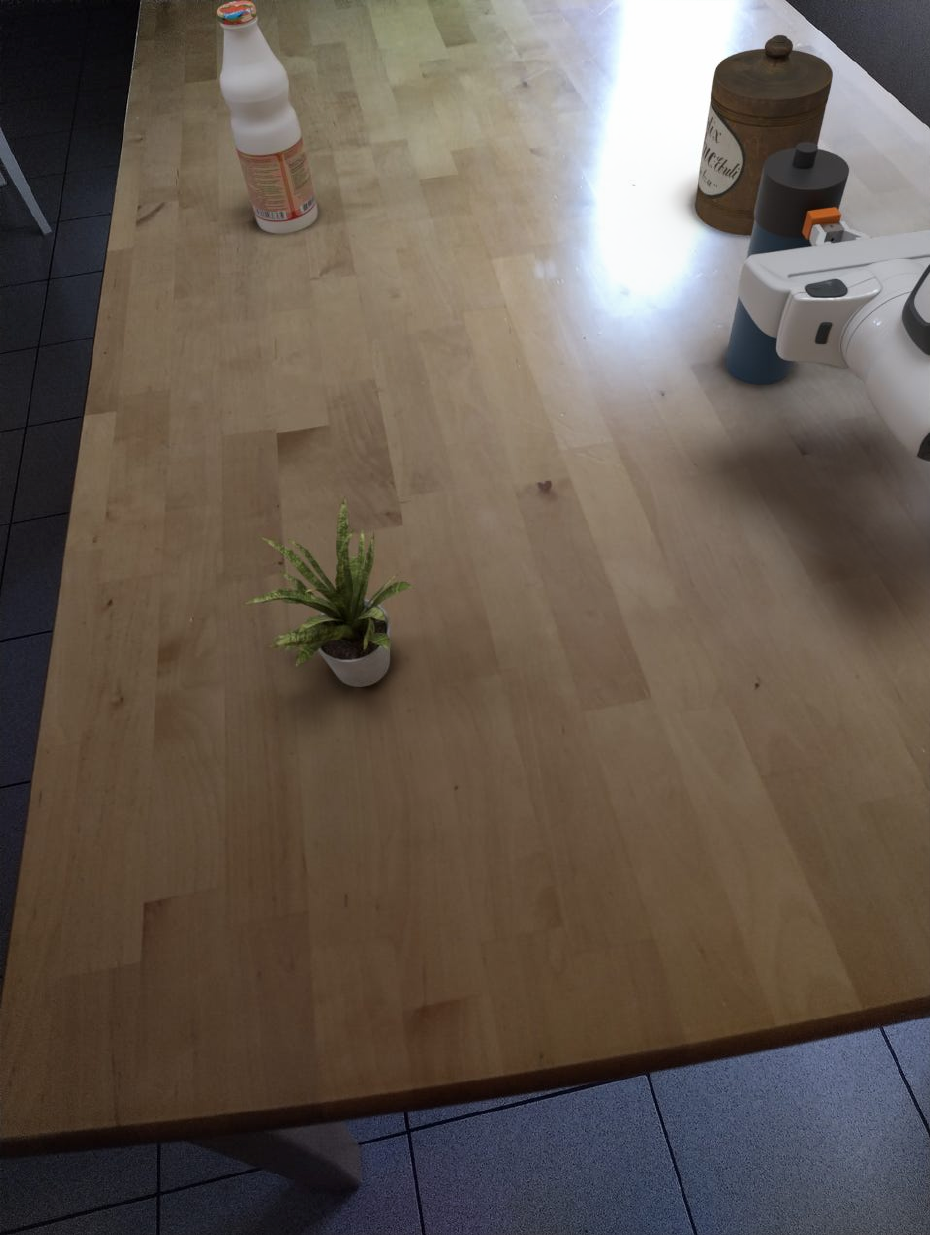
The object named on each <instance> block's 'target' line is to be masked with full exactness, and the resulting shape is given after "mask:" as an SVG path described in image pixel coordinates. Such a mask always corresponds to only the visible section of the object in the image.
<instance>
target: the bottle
mask: <svg viewBox="0 0 930 1235" xmlns="http://www.w3.org/2000/svg"><path fill="white" fill-rule="evenodd" d="M849 174H850V167H849V164H848V163H847V162H846V160H845V159H844V158H842V157H841V156H839V155H838V154H836V153H834V152H831V151H829V150H826V149H821V148H819V146H817V145H816V144H814V143H811V142H802V143H799V144H798V145H797V147H796V148H791V149H785V150H782V151H779V152H776V153H774V154H773V155H771V156H770V157H769V158H768V159H767V160H766V161H765V163H764V167H763V171H762V176H761V181H760V186H759V191H758V196H757V201H756V205H755V210H754V219H755V220H754V225H753V230H752V234H751V235H750V240H749V245H748V250H747V255H746V258H745V260H746V259H747V258H748V257H749V256H751V255H754V254H762V253H769V252H776V251H783V250H790V249H797V248H804V247H811V246H812V245H811V243H810V240H807V239H806V237H805V236H804V234H803V233H802V231H803V227H804V223H805V219H806V216H807V212H808V211H812V210H820V209H827V208H834V207H836V208H837V209H838V210H839V209H840V205H841V202H842V199H843V195H844V193H845V192H844V191H845V188H846V185H847V181H848V178H849ZM776 343H777V338H774V337H771V336H769V335H767V334H765V333H764V332H763V331H762V330H760V328H759V327H758V326H757V325H756V324H755V322H754V321H753V320H752V318H751V317H750V315H749V314H748V312H747V310H746V309H745V307H744V305H743V304H742V302H741V300H740V297H739V296H738V297H737V302H736V306H735V311H734V316H733V321H732V327H731V331H730V335H729V340H728V346H727V350H726V355H725V359H724V365H725V367H726V370H727V372H728V373H729V374H730V375H731V376H732V377H733V378H735V379H736V380H738V381H740V382H742V383H746V384H749V385H755V386H766V385H767V386H768V385H773V384H777V383H779V382H781V381H783V380H785V379H786V378H787V377H788V376H789V374H790V372H791V369H792V367H793V364H794V361H787V360H784V359H782V358H780V357H779V355H778V354H777V351H776Z"/></svg>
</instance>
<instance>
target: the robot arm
mask: <svg viewBox="0 0 930 1235" xmlns="http://www.w3.org/2000/svg"><path fill="white" fill-rule="evenodd" d="M809 239H810V243H811V245H812V246H811V247H804V248H797V249H790V250H783V251H776V252H769V253H762V254H754V255H751V256H749V257H748V258H747V257H746V258H747V259H746V258H745V261H744V263H743V265H742V267H741V270H740V274H739V280H738V287H737V294H738V297H740V300H741V302H742V304H743V305H744V307H745V309H746V310H747V312H748V314H749V315H750V317H751V318H752V320H753V321H754V322H755V324H756V325H757V326H758V327H759V328H760V330H762V331H763V332H764V333H765V334H767V335H769V336H771V337H774V338H777V343H776V351H777V354H778V355H779V357H780V358H782V359H784V360H787V361H793V362H800V363H801V362H802V363H811V364H813V363H814V364H821V365H828V366H833V367H836V368H842V369H848V370H850V371H851V373H852V374H853V375H854V376H855V377H856V378H857V379H859V381H862V382H863V383H864V385H865V392H866V395H867V396H866V397H867V399H868V400H869V403H870V404H871V406H872V408H873V409H874V411H875V412H876V414H877V415H878V417H879V418H880V419H881V421H882V422H883V424H884V426H885V427H886V428H887V429H888V431H889V432H890V434H892V436H893V437H894V438H895V440H897V442H898V443H899V444H900V445H901V446H903V448H904V449H905V450H906V451H907V452H909V453H910V454H911V455H912V456H913V457H915V458H918V459H920V460H921V461H925V462H930V229H924V230H917V231H911V232H910V231H909V232H903V233H896V234H888V235H882V236H875V237H871V235H870V234H867V233H864V232H862V231H859V230H856V229H854V228H850V227H849V225H848V224H847V222H846V221H845V220H840V221H839V222H833V223H825V224H817V225H813V226H812V230H811V233H810V238H809Z"/></svg>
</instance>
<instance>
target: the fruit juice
mask: <svg viewBox="0 0 930 1235" xmlns="http://www.w3.org/2000/svg"><path fill="white" fill-rule="evenodd" d="M216 15H217V20H218V22H219V25H220V27H221V28H222V29H223V45H222V46H223V49H222V50H223V53H222V66H221V70H220V75H219V87H220V88H219V89H220V92H221V96H222V98H223V100H224V102H225V104H226V105H227V108H228V109H229V112H230V130H231V134H232V140H233V143H234V148H235V150H236V153H237V157H238V160H239V165H240V167H241V171H242V174H243V178H244V181H245V185H246V188H247V192H248V195H249V200H250V203H251V207H252V210H253V214H254V217H255V220H256V223H257V225H258V227H259V228H260V229H261V230H263V231H265V232H267V233H271V234H291V233H294V232H299V231H301V230H303V229H305V228H307V227H309V226H310V225H311V224H313V223H314V222H315V221H316V219H317V217H318V215H319V211H318V210H319V209H318V205H317V203H318V202H317V198H316V195H315V190H314V185H313V181H312V176H311V172H310V167H309V162H308V157H307V153H306V149H305V144H304V141H303V134H302V131H301V130H302V129H301V125H300V122H299V119H298V114H297V113H296V110H295V108H294V107H293V105H292V104H291V102H290V81H289V77H288V73H287V71H286V68H285V67H284V65H283V63H282V62H280V60H279V59H278V58H277V57H276V55H275V54H274V52H273V51H272V49H271V47H270V45H269V43H268V41H267V40H266V38H265V35H264V34H263V32H262V31H261V29H260V27H259V26H258V23H257V22H258V19H259V18H258V12H257V8H256V5H255V4H254V2H252V1H249V0H234V1H230V2H226V3H224V4H222V5H220V6H219V7H218V8H217V10H216Z"/></svg>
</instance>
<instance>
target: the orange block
mask: <svg viewBox="0 0 930 1235" xmlns="http://www.w3.org/2000/svg"><path fill="white" fill-rule="evenodd" d="M841 217H842V213H841V212H840V211H839V209H837V208H836V207H834V208H827V209H820V210H812V211H808V212H807V216H806V219H805V223H804V227H803V231H802V233H803V234H804V236H805V237H806V239H807V240H810V239H809V238H810V233H811V230H812V226H813V225H817V224H825V223H833V222H839V221H841Z"/></svg>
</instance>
